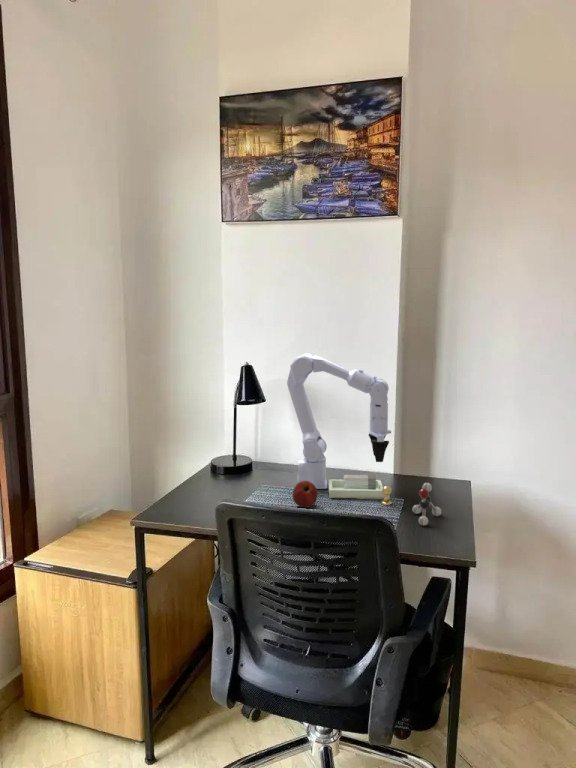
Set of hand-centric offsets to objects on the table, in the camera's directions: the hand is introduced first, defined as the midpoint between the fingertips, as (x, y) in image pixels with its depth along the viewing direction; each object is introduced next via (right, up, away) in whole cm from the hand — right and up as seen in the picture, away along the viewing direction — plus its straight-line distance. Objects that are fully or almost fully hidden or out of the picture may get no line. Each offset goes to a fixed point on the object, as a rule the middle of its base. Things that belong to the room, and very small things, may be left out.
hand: (378, 458), depth 190 cm
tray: (-8, -11, -2) cm, 13 cm away
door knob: (+1, -12, -12) cm, 17 cm away
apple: (-24, -13, -13) cm, 30 cm away
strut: (-6, -10, -2) cm, 12 cm away
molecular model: (+9, -15, -25) cm, 30 cm away
